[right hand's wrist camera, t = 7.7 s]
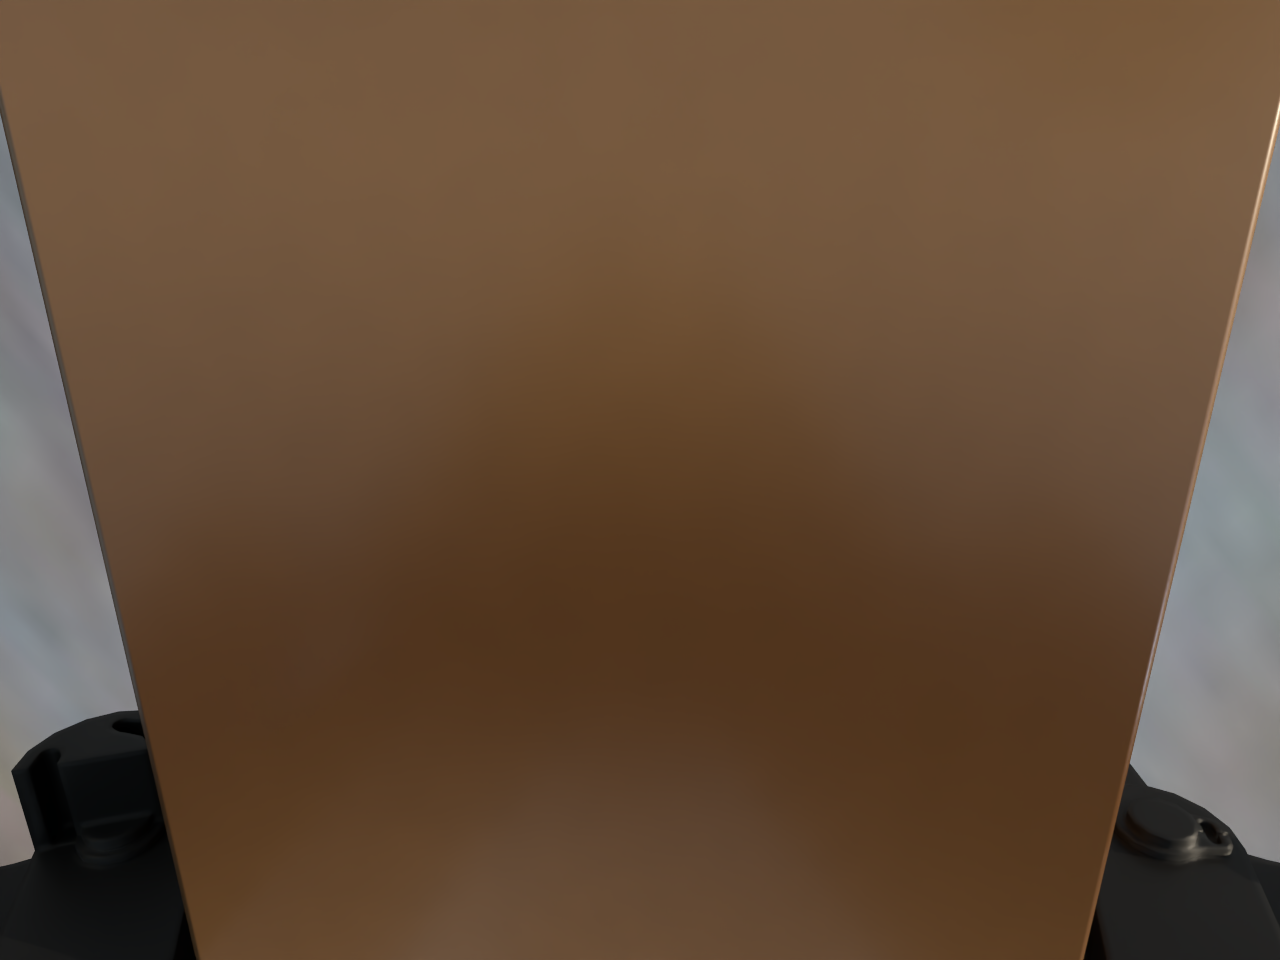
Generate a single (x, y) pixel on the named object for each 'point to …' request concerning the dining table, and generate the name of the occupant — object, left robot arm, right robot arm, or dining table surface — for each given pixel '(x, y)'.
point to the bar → (640, 448)
